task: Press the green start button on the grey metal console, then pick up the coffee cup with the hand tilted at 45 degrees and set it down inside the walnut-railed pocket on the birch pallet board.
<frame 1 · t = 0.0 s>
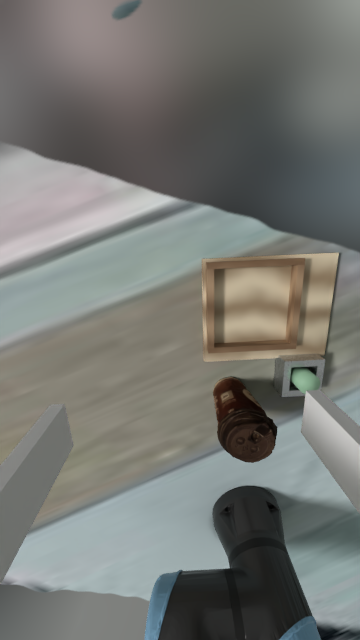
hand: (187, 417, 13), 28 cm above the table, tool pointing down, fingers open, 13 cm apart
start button: (303, 379, 40), point 4 cm above the table, slide at 0.0 cm
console: (293, 369, 43), on the table
pallet: (265, 309, 40), on the table
coffee cup: (229, 390, 45), on the table
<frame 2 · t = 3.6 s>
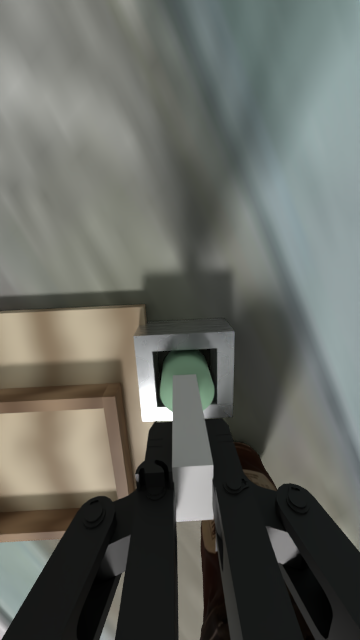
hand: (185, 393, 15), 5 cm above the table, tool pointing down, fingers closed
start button: (185, 378, 17), point 3 cm above the table, slide at 0.3 cm, touching gripper
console: (184, 358, 20), on the table
pallet: (59, 422, 22), on the table
coffee cup: (227, 462, 24), on the table
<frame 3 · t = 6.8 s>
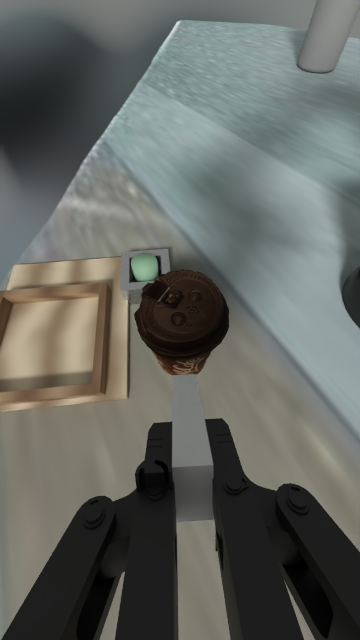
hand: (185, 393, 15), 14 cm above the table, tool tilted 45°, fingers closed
cylinder vase: (315, 67, 78), on the table
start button: (145, 270, 33), point 3 cm above the table, slide at 0.7 cm
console: (148, 283, 36), on the table
pallet: (65, 324, 32), on the table
coffee cup: (181, 354, 30), on the table
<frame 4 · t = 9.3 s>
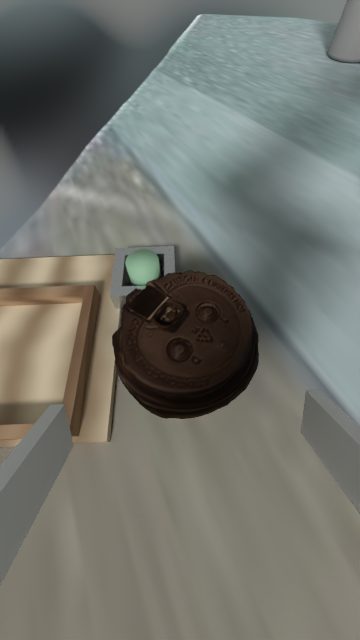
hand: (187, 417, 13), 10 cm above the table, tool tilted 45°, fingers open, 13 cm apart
cylinder vase: (347, 58, 71), on the table
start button: (144, 272, 26), point 3 cm above the table, slide at 0.7 cm
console: (148, 288, 29), on the table
pallet: (40, 335, 26), on the table
coffee cup: (184, 382, 23), on the table
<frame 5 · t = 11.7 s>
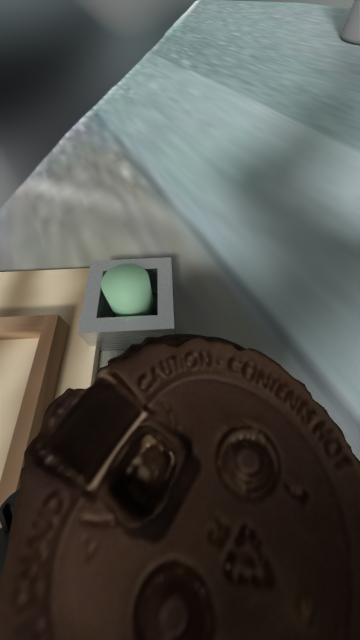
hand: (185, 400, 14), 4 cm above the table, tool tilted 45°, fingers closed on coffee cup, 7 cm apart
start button: (129, 294, 19), point 3 cm above the table, slide at 0.7 cm
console: (136, 313, 21), on the table
coffee cup: (188, 462, 16), on the table, touching gripper
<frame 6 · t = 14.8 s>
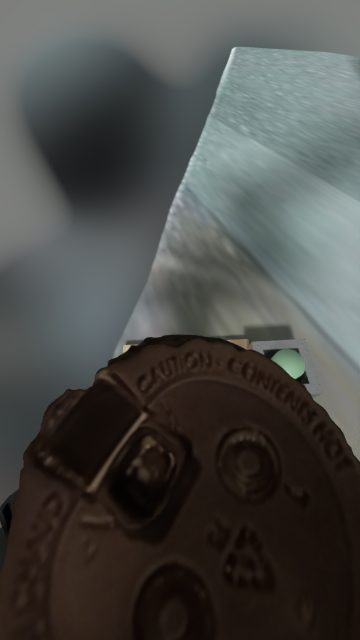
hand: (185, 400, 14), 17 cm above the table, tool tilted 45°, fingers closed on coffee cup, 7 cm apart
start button: (283, 367, 29), point 3 cm above the table, slide at 0.7 cm
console: (275, 373, 31), on the table
coffee cup: (188, 463, 16), point 13 cm above the table, touching gripper
when the fingers open (5 cm above the table, at t = 18.4 s): coffee cup stays where it is, resting on pallet.
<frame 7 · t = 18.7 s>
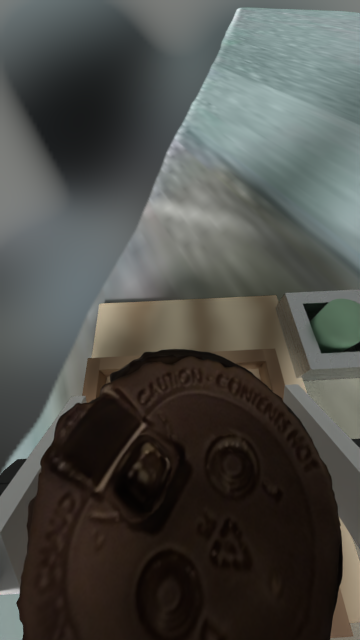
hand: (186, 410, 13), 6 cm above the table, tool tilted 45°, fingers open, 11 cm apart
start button: (335, 328, 19), point 3 cm above the table, slide at 0.7 cm
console: (317, 342, 22), on the table
pallet: (197, 417, 19), on the table
coffee cup: (183, 464, 16), point 1 cm above the table, touching pallet
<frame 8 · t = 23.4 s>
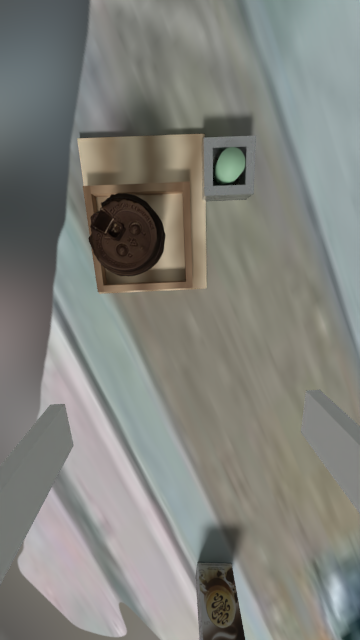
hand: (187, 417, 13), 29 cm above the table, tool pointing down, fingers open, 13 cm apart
coffee box: (213, 569, 60), on the table
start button: (228, 167, 32), point 3 cm above the table, slide at 0.7 cm
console: (224, 175, 35), on the table
pallet: (148, 221, 36), on the table
coffee cup: (141, 241, 36), point 1 cm above the table, touching pallet
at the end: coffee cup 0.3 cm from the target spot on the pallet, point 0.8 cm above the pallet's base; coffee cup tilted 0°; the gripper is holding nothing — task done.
